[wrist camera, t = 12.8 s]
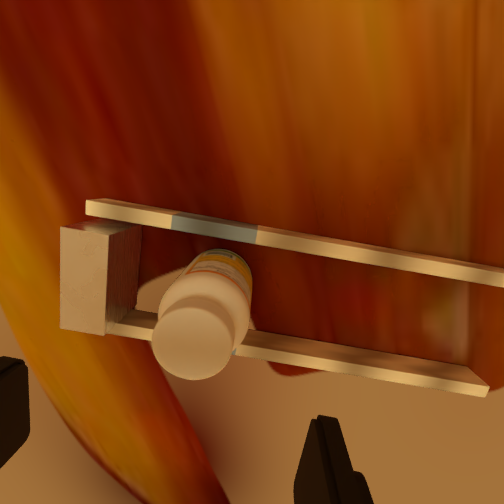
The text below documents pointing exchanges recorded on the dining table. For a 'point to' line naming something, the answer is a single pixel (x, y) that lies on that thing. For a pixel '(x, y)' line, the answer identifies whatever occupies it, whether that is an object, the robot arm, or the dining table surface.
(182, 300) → the supplement bottle
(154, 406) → the dining table surface
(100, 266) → the guide channel
